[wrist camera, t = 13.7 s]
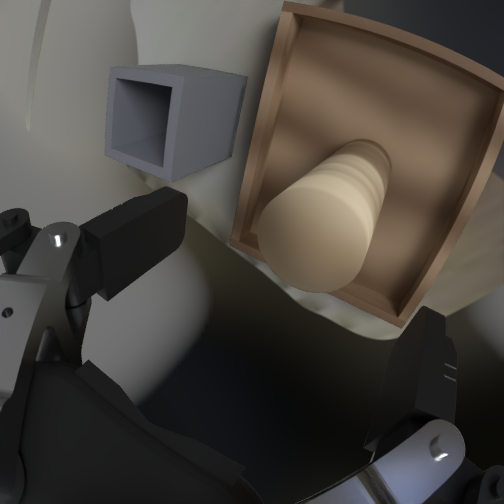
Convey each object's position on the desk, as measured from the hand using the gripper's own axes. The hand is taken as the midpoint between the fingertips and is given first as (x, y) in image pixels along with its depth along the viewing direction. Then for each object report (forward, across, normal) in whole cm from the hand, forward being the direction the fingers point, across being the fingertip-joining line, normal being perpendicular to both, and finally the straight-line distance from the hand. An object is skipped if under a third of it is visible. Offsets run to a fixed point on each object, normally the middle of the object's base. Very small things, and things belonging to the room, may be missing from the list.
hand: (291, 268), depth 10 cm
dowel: (+15, 0, 0) cm, 15 cm away
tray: (+16, 0, 0) cm, 16 cm away
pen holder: (+16, +14, 0) cm, 22 cm away
